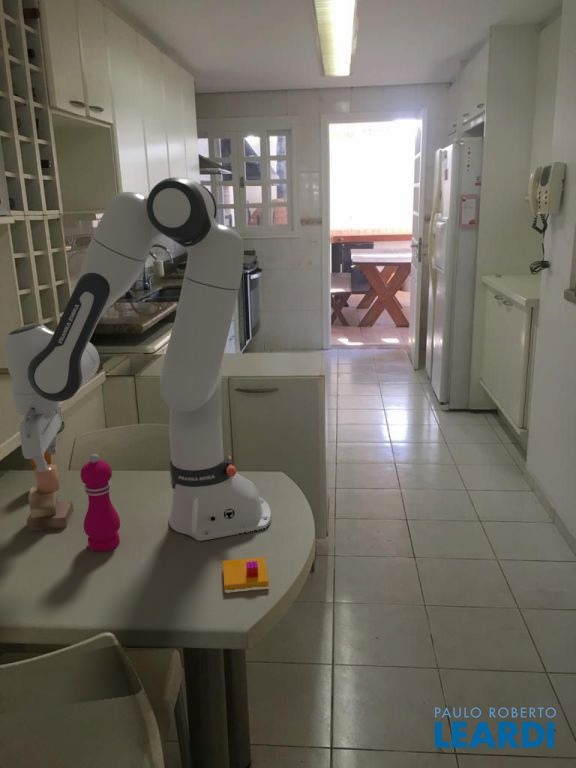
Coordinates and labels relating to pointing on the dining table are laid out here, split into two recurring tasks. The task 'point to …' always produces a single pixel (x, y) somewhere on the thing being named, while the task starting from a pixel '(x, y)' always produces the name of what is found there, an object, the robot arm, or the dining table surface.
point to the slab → (52, 518)
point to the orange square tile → (245, 573)
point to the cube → (42, 503)
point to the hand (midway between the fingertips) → (47, 461)
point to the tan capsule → (47, 480)
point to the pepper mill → (99, 506)
